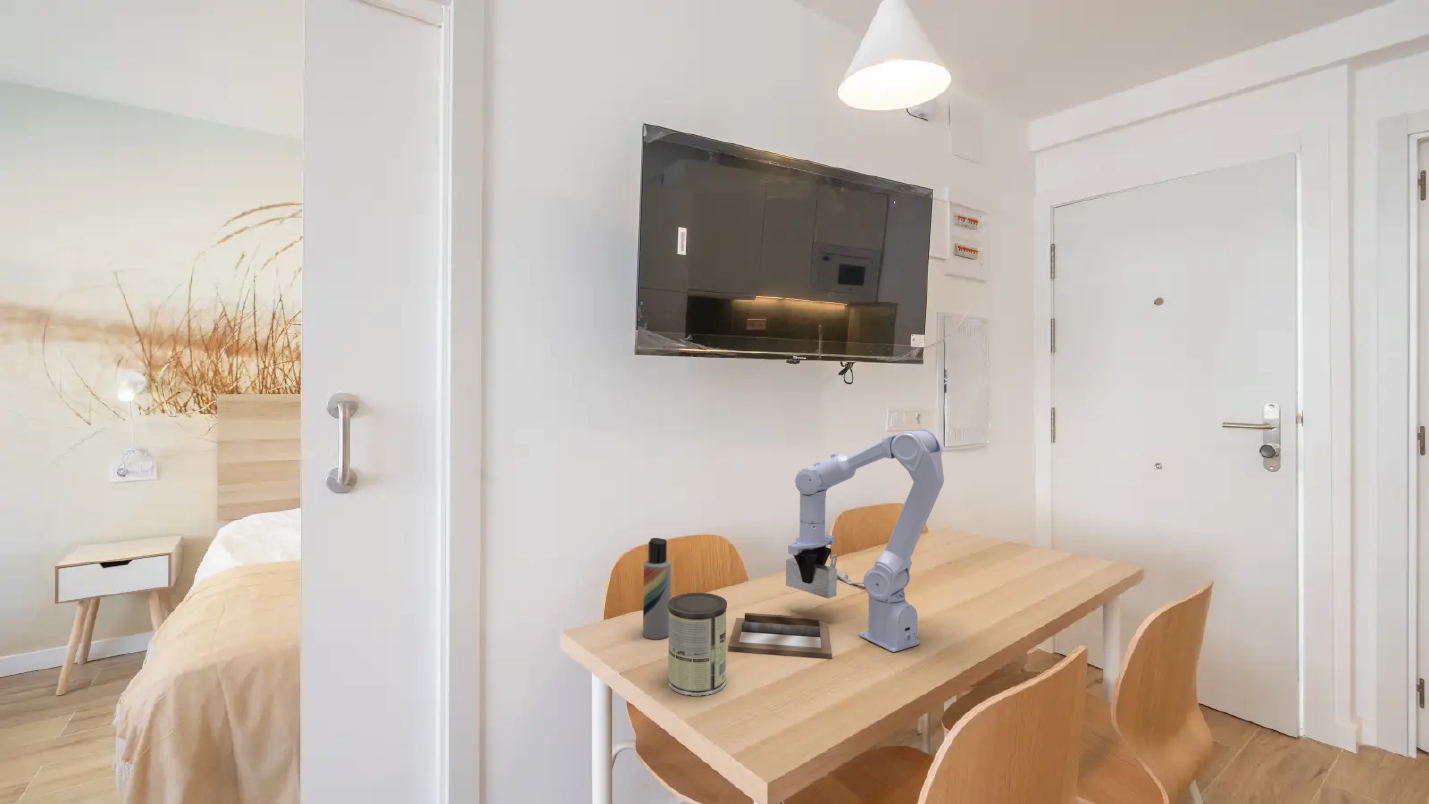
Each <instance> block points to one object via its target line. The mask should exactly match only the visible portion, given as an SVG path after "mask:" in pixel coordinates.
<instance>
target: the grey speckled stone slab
mask: <svg viewBox="0 0 1429 804" xmlns="http://www.w3.org/2000/svg"><path fill="white" fill-rule="evenodd" d="M837 571H838V569H837V568H836V567H835V568H833V567H830V566H828V565H826V564H825V565H821V564H818V563H814V567H813V575H812V582H811V583H810V584H808V583H805V582H802V578H801V574H800V570H799V567H798V564H797V561H796V559H795V558H794V557H791V558H787V559H785V586H786V587H790V588H793V589H796V590H798V591H803V592H806V593H810V594H812V595H816V596H819V597H821V598H825V599H831V598H833V597H836V596H837V590H838V589H837V588H838V587H837V586H838V585H837V584H838V583H837V582H838V581H837V580H838V579H837Z"/></svg>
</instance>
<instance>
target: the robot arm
mask: <svg viewBox="0 0 1429 804" xmlns="http://www.w3.org/2000/svg"><path fill="white" fill-rule="evenodd" d="M942 453H943V447H942V445H941V443H940V442H939V440H938V438H937V436H936V435H935V434H934V433H933V432H932V431H930V430H928V429H918V430H915V431H914V430H913V431H909V430H908V431H907V430H906V431H901V432H899V433H897V434H892V435H889V436H887V437H882V438H881V439H879V440H878V441H875V442H873V443H872V444H870V445H868V446H865V447H864V448H862V449H860V450H858V451H856V452H854V453H851V454H850V455H849V454H848V455H847V454H846V453H843V452H842V453H838V452H835V453H832V454H830V458H829V459H827V460H824V461H822V462H820V461H817V462H815V463H814V464H813V467H811V468H809V467H806V468H802V469H801V470H800V471H798V473H797V474H796V475H795V480H794V481H795V482H794V484H795V487H796V489H797V490H798V492H799V533H798V534H799V536H798V537H796V538H795V541H794V542H792V543H791V544H788V545H787V548H788V551H787V554H789V555H792V556H793V558H795V559H796V561H797V564H798V567H799V570H800V574H801V578H802V582H805V583H808V584H810V583H811V582H812V575H813V567H814V563H818V564H821V565H825V566H826V563H827V561H828V560H829V559H828V558H829V557H830V555H832V554H831V553H832V548H831V547H827V546H828V545H830V546H833V545H835V535H832V534H826V498H827V492H828V490H829V488H832V487H834V486H836V485H839V484H841V483H844V482H846V481H847V480H850V479H852V478H854V476H855V474H856V472H857V469H860V468H862V467H865V466H867V465H870V464H872V463H875V462H877V461H880V460H882V459H884V458H886V459H890V460H891V459H896V460H897V461H898V462H899V464H900V465H901V466H902V467H904V469H905V470H906V471H907V472H908V474H909V476H910V477H911V479H912V481H913V483H912V486H911V488H910V491H909V492H908V495H907V498H906V500H905V502H904V505H903V507H902V509H901V512H900V513H899V515H898V518H897V520H896V523H895V525H894V527H893V530H892V532H891V534H890V536H889V540H888V542H887V543H886V547H885V548H884V551H883V552H882V553H881V554H880V555H879V557H878V558H877V559H876V560H875V563H874V565H873V566H872V568H869V570H867V571H866V572H865V574H864V576H863V581H862V582H864V584H863V586H864V589H865V591H866V592H867V594H868V618H867V619H868V621H867V624H868V625H867V630H866V631H863V632H859V633H858V636H859V637H861V638H863V639H865V640H867V641H870V642H871V643H873V644H875V645H877V646H879V647H881V648H884V649H886V650H887V651H890V652H891V653H895V652H896V653H897V652H899V651H901V650H902V651H903V650H906V649H909V648H911V647H915V646H917V645H920V643H921V642H920V641H919V640H918V612H917V609H916V607H914V605H912V604H910V603H909V602H908V601H907V599H906V594H905V588H906V587H907V586H908V585H909V583H910V579H911V575H910V569H911V566H912V564H913V563H912V559H911V557H912V555H913V553H914V551H915V548H916V546H917V544H918V542H919V540H920V537H921V535H922V533H923V530H924V528H925V526H926V524H927V522H928V519H929V517H930V514H931V512H932V509H933V508H934V505H935V504H936V501H937V499H938V498H939V495H940V492H941V490H942V488H943V486H944V483H945V475H944V468H943V459H942Z"/></svg>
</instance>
